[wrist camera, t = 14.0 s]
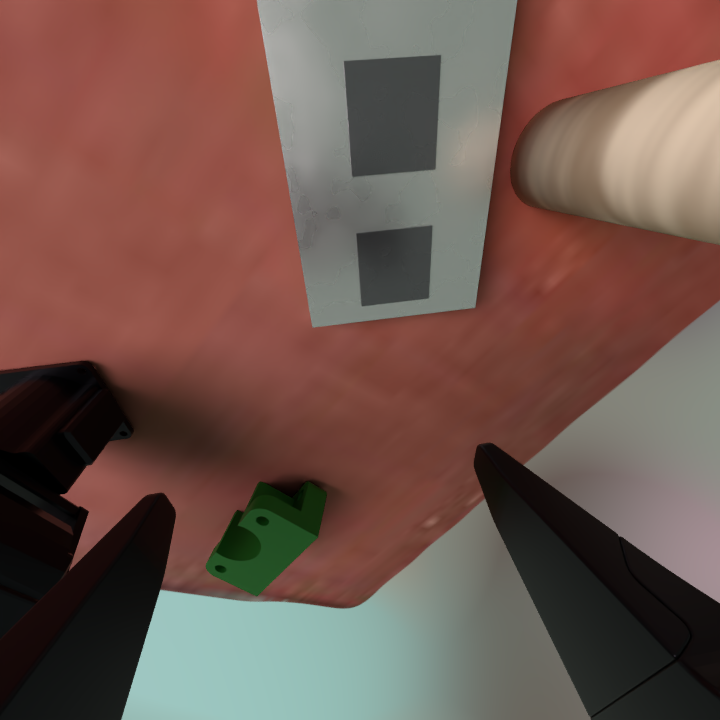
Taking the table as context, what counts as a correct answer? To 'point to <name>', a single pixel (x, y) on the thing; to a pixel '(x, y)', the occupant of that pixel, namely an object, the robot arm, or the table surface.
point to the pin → (630, 155)
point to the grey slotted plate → (388, 146)
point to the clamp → (267, 536)
